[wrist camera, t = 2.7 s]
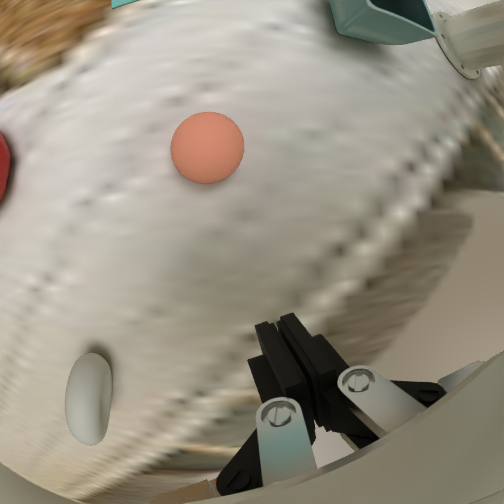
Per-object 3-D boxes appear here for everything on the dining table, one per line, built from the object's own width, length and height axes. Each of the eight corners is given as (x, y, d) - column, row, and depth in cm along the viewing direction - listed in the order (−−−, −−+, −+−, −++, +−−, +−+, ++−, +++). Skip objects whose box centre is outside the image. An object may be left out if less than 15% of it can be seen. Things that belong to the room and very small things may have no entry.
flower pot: (323, 45, 21) (369, 6, 12) (309, -11, 18) (344, -53, 10) (388, 60, 22) (440, 37, 14) (372, 6, 20) (414, -23, 11)
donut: (116, 402, 26) (103, 465, 17) (90, 395, 25) (71, 456, 16) (115, 338, 24) (90, 406, 15) (85, 330, 23) (50, 393, 14)
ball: (229, 114, 21) (239, 96, 16) (244, 173, 23) (259, 171, 18) (167, 130, 21) (159, 115, 15) (182, 190, 22) (178, 193, 17)
